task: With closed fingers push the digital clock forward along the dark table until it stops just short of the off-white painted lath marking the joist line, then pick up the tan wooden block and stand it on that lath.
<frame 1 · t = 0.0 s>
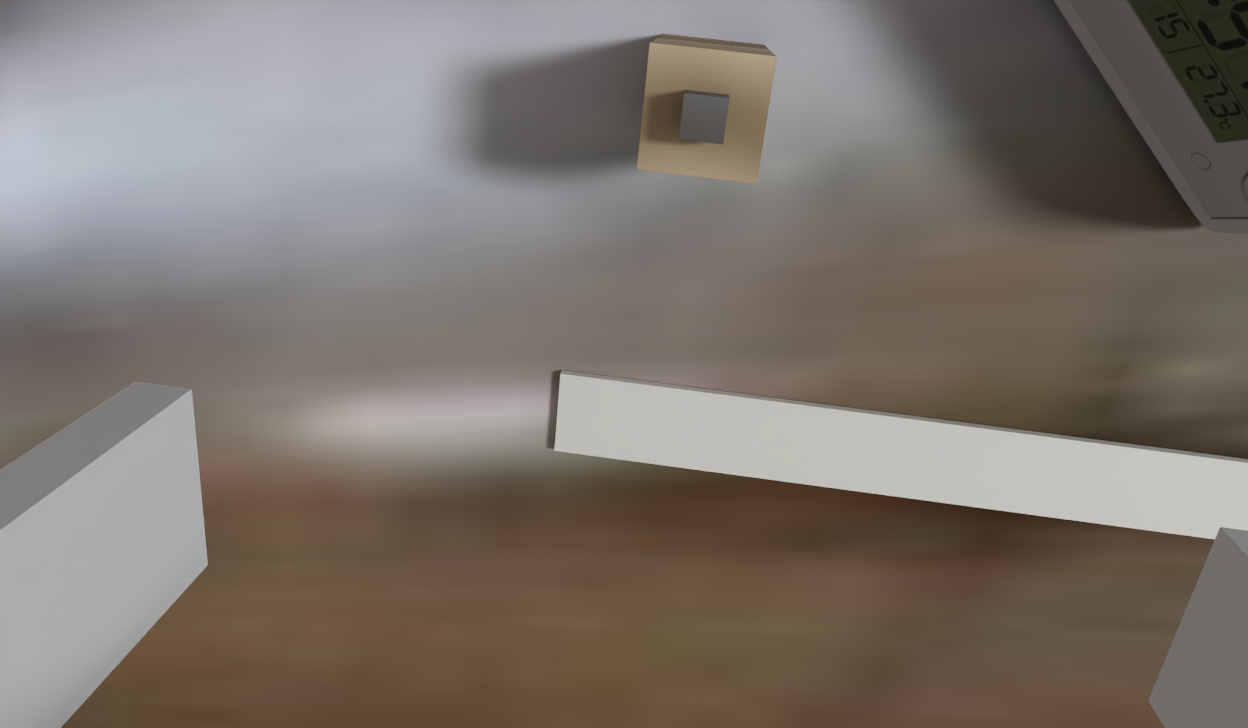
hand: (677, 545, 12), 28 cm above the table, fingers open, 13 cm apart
tan wooden block: (706, 91, 36), on the table
lath: (944, 460, 41), on the table
digital clock: (1164, 32, 34), on the table
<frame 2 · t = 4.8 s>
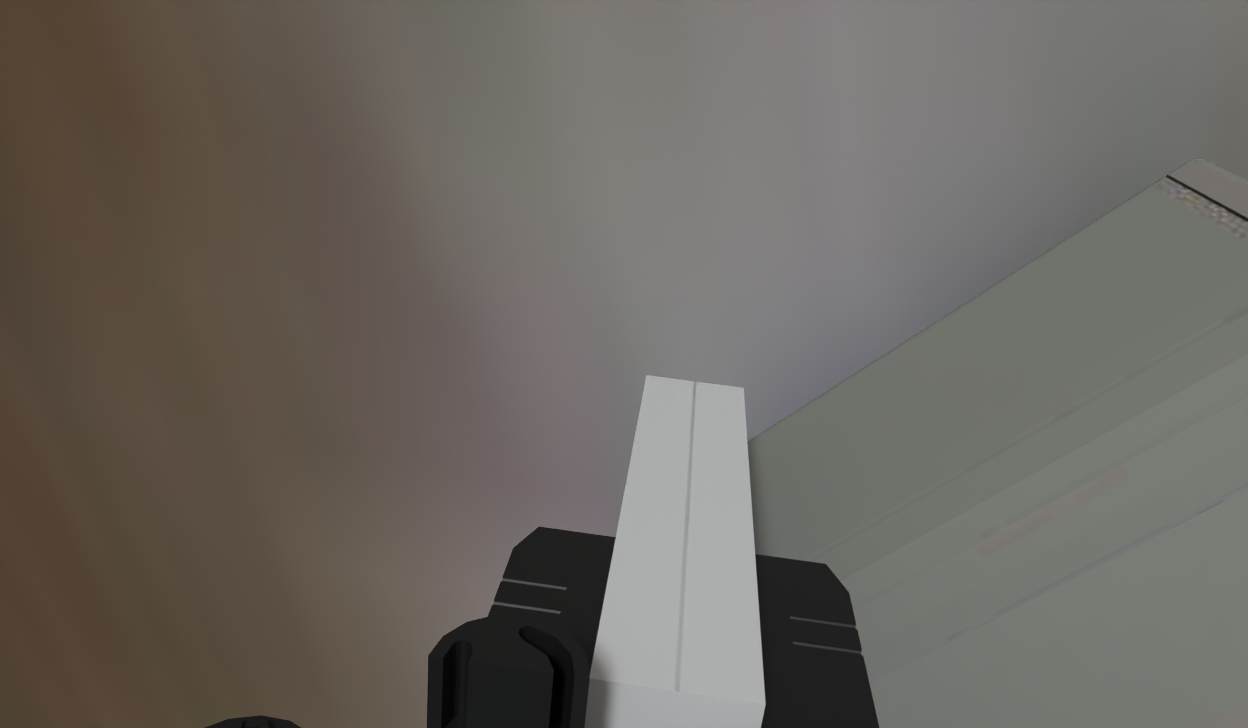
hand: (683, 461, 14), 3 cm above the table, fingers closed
digital clock: (1037, 481, 16), on the table, touching gripper, hand
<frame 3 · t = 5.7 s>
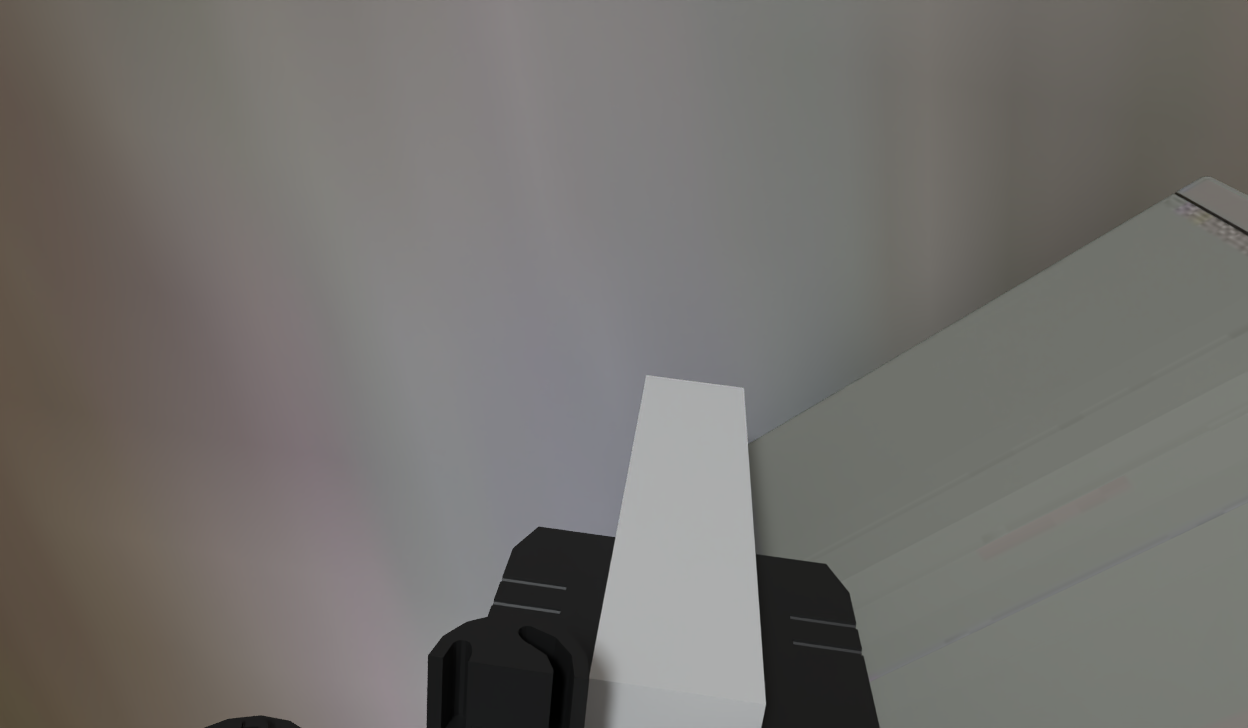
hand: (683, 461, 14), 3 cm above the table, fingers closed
digital clock: (1035, 492, 16), on the table, touching gripper, hand
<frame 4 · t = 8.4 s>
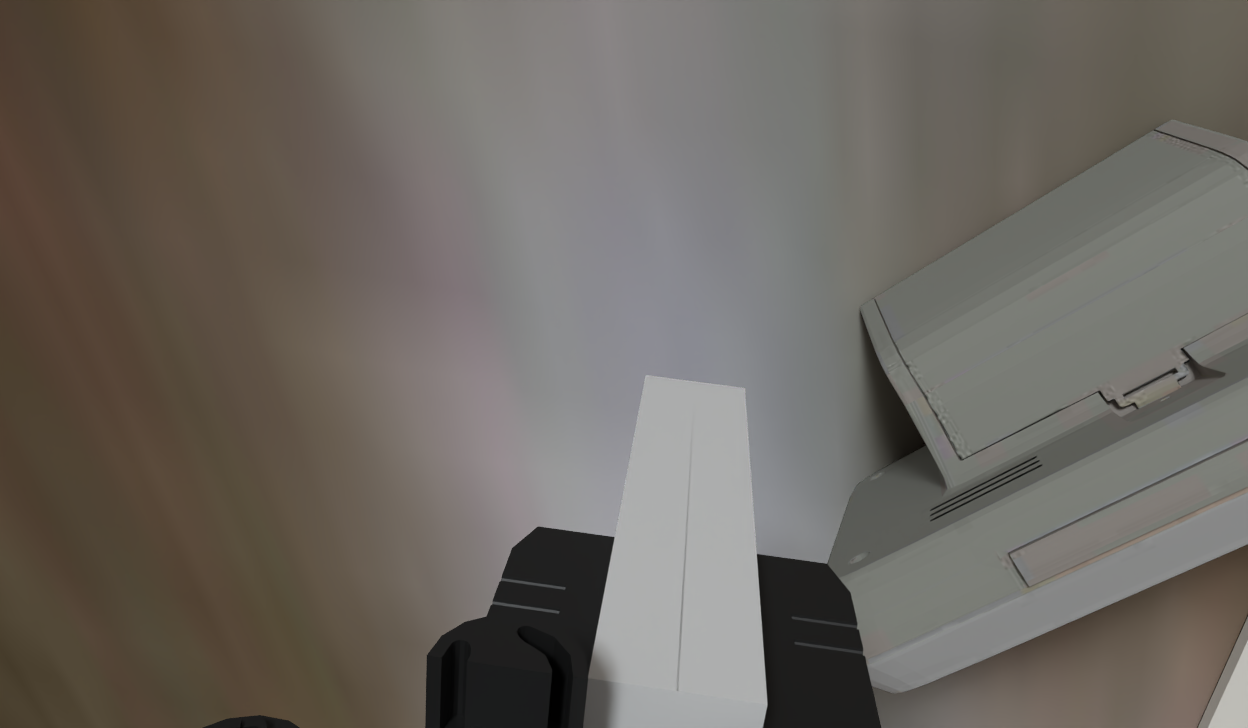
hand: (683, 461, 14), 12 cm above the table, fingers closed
digital clock: (1074, 336, 25), on the table
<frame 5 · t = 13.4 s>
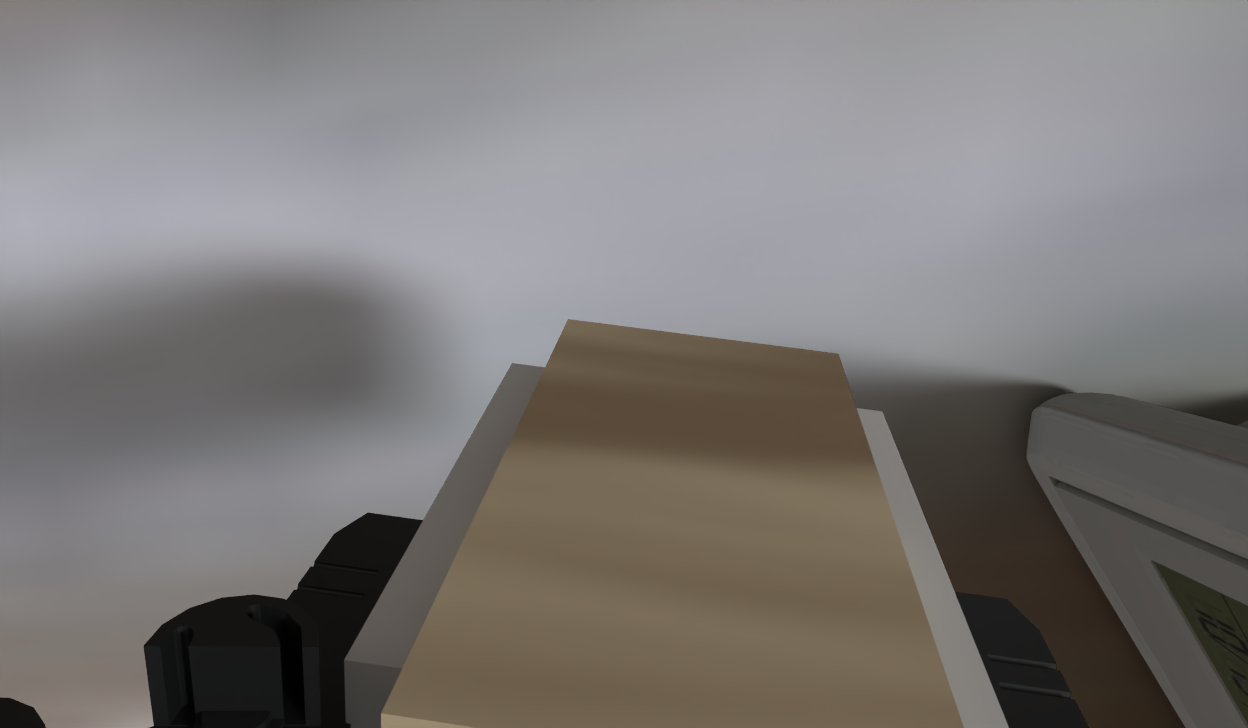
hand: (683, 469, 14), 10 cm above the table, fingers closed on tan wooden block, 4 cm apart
tan wooden block: (685, 455, 14), point 9 cm above the table, touching gripper
digital clock: (1223, 581, 24), on the table
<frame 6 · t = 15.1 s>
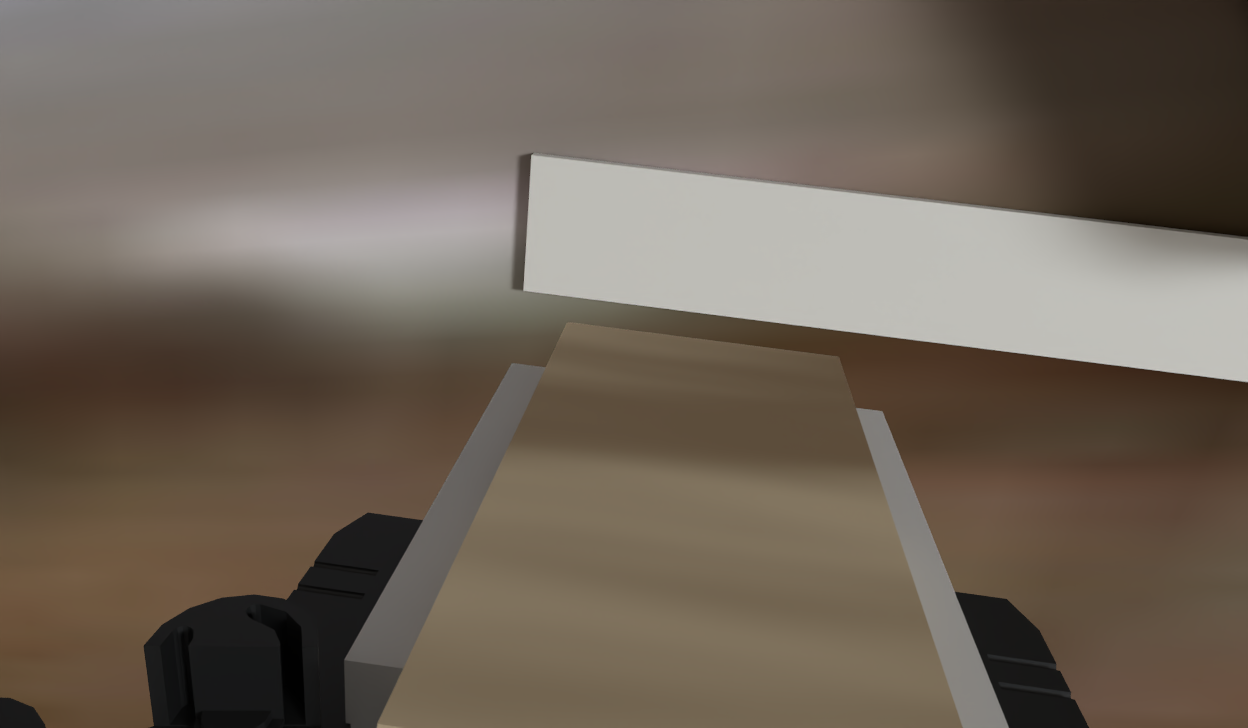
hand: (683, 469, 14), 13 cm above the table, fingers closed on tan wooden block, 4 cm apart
tan wooden block: (684, 459, 14), point 13 cm above the table, touching gripper
lath: (1157, 298, 25), on the table
when the fingers open (1 cm above the table, at t = 17.4 s): tan wooden block stays where it is, resting on lath.
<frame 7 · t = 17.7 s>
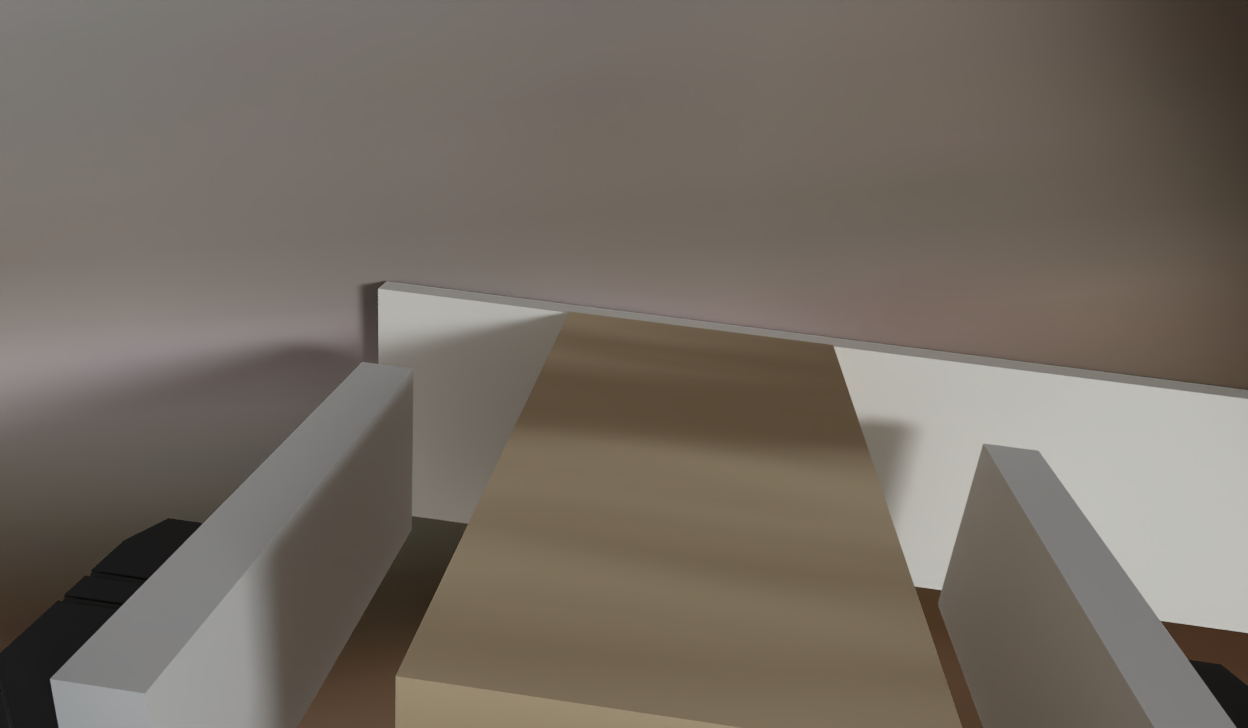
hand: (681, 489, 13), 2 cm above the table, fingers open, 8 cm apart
tan wooden block: (683, 445, 14), resting on lath
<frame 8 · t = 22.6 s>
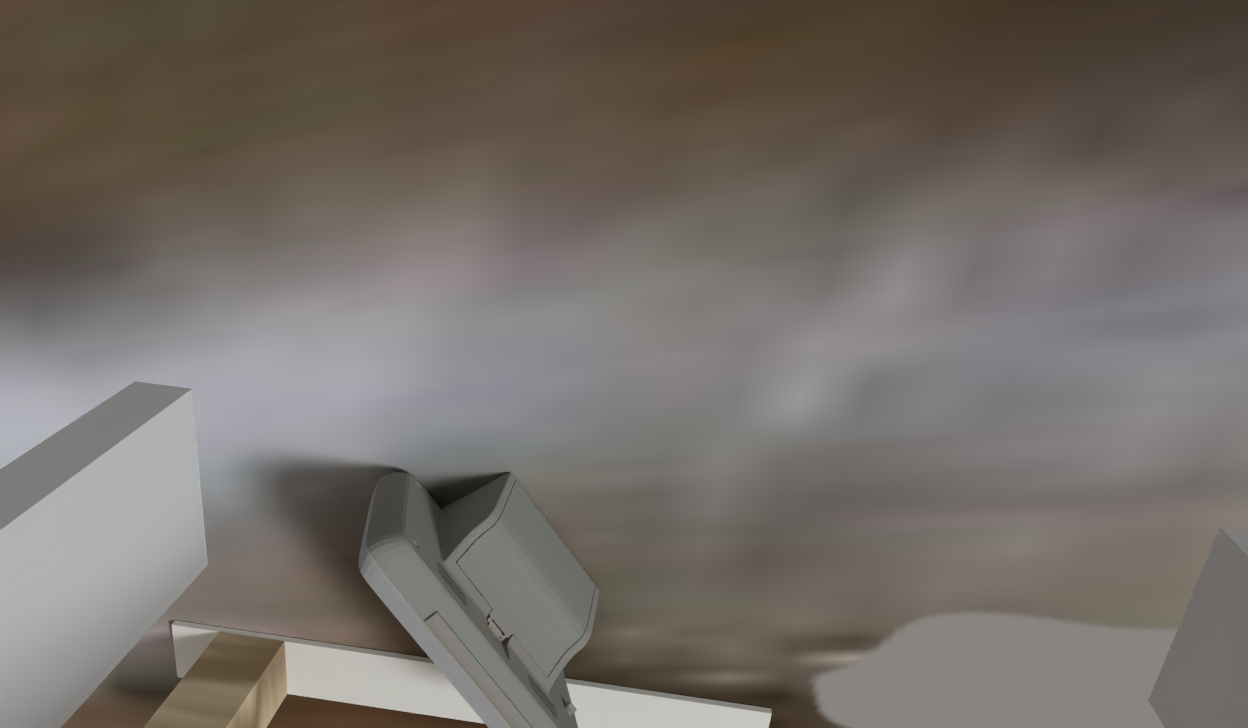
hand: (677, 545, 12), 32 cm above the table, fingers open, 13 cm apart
tan wooden block: (253, 662, 54), resting on lath
lath: (466, 690, 54), on the table
digital clock: (497, 560, 51), on the table
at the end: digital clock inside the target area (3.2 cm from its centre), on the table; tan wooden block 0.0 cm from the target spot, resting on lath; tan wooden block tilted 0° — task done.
